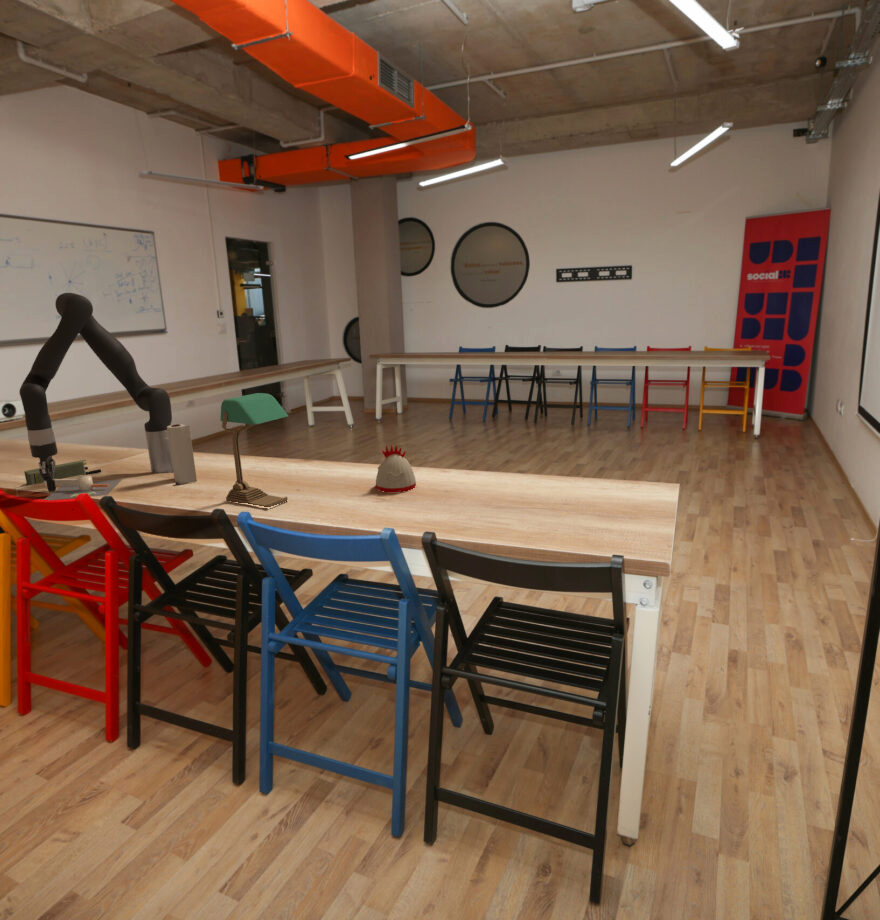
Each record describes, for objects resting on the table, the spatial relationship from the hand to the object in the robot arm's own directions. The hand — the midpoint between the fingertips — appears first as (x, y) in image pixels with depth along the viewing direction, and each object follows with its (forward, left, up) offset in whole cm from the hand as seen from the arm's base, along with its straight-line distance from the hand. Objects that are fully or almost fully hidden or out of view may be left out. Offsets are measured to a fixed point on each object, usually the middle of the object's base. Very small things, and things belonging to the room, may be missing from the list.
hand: (52, 490), depth 212 cm
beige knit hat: (-115, +24, -3) cm, 118 cm away
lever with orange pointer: (-7, -4, -1) cm, 8 cm away
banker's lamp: (-69, +26, -3) cm, 74 cm away
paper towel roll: (-41, -7, -3) cm, 42 cm away
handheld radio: (+4, -25, -3) cm, 25 cm away
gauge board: (-8, -5, -3) cm, 10 cm away
